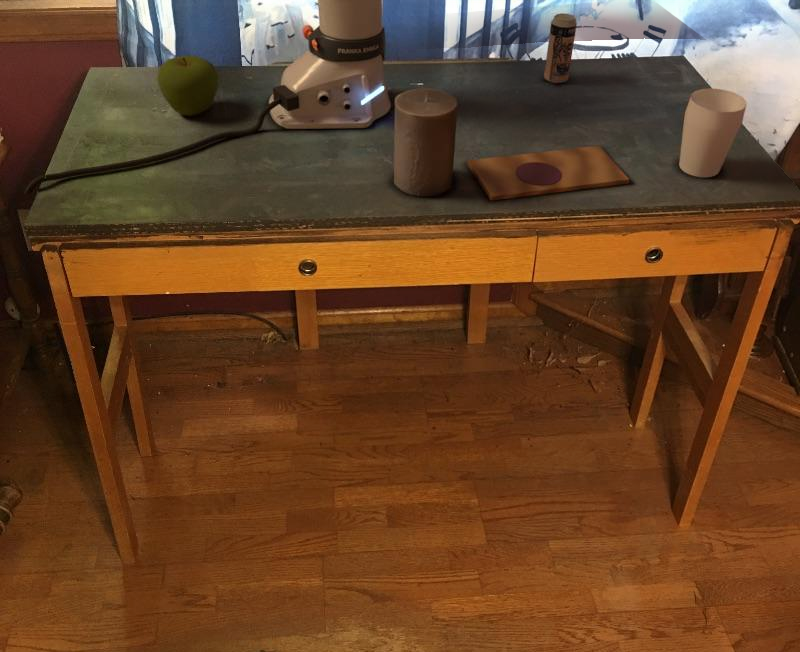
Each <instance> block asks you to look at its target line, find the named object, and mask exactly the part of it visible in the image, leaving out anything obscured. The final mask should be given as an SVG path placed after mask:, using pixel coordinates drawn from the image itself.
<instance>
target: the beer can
mask: <svg viewBox="0 0 800 652" xmlns="http://www.w3.org/2000/svg"><path fill="white" fill-rule="evenodd" d="M577 25H578V22H577V20H576V17H575V15H572V14H570V13H556V14H555V15H554V17H553V18H552V19H551V22H550V28H549V29H550V30H549V36H548V43H547V51H546V58H545V66H544V73H543V77H544V79H545V80H546V81H547V82H549V83H552V84H562V83H565V82H567V81H568V80H569V75H570V70H571V63H572V56H573V50H574V44H575V38H576V32H577Z"/></svg>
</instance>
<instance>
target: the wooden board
mask: <svg viewBox="0 0 800 652" xmlns="http://www.w3.org/2000/svg"><path fill="white" fill-rule="evenodd" d="M467 166H468V168H469V170H470V171H471V172H472V174H473V175H474V177H475V178H476V181H478V183H479V184H480V186H481V188H482V189H483V191H484V192H485V194H486V195H487V197H488V199H489V200H490V201H500V200H507V199H514V198H515V199H516V198H524V197H531V196H540V195H546V194H554V193H556V194H557V193H563V192H571V191H578V190H579V191H580V190H587V189H595V188H603V187H611V186H619V185H627V184H629V183H630V178H629V177H628V176H627V175H626V173H625V172H624V171H623V170H622V169H621V168H620V167H619V166H618V165H617V164H616V163H615V161H613V159H612V158H611V157H610V156H609V155H608V154H607V152H605V150H604V149H603V148H602V147H601V146H600V145H592V146H591V145H590V146H584V147H583V146H582V147H574V148H565V149H557V150H556V149H555V150H547V151H539V152H531V153H519V154H513V155H504V156H494V157H486V158H477V159H468V160H467Z"/></svg>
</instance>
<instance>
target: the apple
mask: <svg viewBox="0 0 800 652" xmlns="http://www.w3.org/2000/svg"><path fill="white" fill-rule="evenodd" d="M218 81H219V74H218V72H217V70H216V68H215V66H214V63H211V62H210V61H208V60H207V59H205V58H203V57H200V56H197V55H182V56H180V55H179V56H175V57H171V58H169V59H167V60H166V61H165V62H163V63H162V64H161V65H160V67H159V68H158V72H157V84H158V86H159V89H160V91H161V94H162V95H163V97H164V99H165V100H166V102H167V103H168V105H169V106H170V108H171V109H173V110H174V111H175V112H177V113H179V114H181V115H183V116H188V117H189V116H197V115H200V114H202V113H204V112H205V111H207V110H208V109H209V108H210V107H212V106H213V103H214V100H215V98H216V94H217V91H218V86H219V82H218Z"/></svg>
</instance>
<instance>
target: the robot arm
mask: <svg viewBox="0 0 800 652" xmlns="http://www.w3.org/2000/svg"><path fill="white" fill-rule="evenodd" d="M383 3H384V2H383V0H317V8H318V11H317V12H318V26H317V27H316V28H315V29H314V28H313V27H312V25H310V24H306V25H304V26H303V27H302V30H301V32H302V35H303V37H304V38H305V40H307V42H308V50H307V51H305V52H304V53H303V54H302V55H300V56H299V57H298V58H297V59H295V60H294V61H293V62H292V63H291V64H290V65H288V66H287V67H285V69H284V71H283V72H282V75H281V79H280V85H277V86H274V87H272V94H271V96H270V97H269V100H268V104H267V105H266V106H265V107H264V108H263V109H262V110H261V112H260V113H259V114H258V118H257V122H256V123H255V125H253V126H252V127H250V128H248V129H244V130H233V131H231V130H230V131H224V132H219V133H217V134H214V135H211V136H209V137H206V138H204V139H201V140H199V141H196V142H194V143H191V144H188V145H185V146H182V147H179V148H176V149H173V150H168V151H165V152H163V153H158V154H154V155H151V156H146V157H142V158H137V159H132V160H126V161H121V162H115V163H109V164H104V165H98V166H89V167H82V168H76V169H70V170H66V171H62V172H56V173H48V174H42V175H40V176H37V177H36V178H34V179H33V180H31V181H30V183H28V185H27V186H26V188H25V190H24V192H23V194H25V195H28V194H31V193H32V192H33V191H34V190H35V188H36V187H37V186H39V185H40V184H42V183H45V182H51V181H59V180H63V179H67V178H71V177H72V178H73V177H76V176H83V175H90V174H97V173H98V174H99V173H105V172H109V171H111V172H112V171H116V170H121V169H126V168H133V167H138V166H142V165H146V164H150V163H151V164H152V163H155V162H159V161H163V160H166V159H169V158H173V157H177V156H180V155H183V154H186V153H189V152H191V151H194V150H197V149H199V148H202V147H205V146H207V145H210V144H211V143H214V142H217V141H219V140H220V141H221V140H223V139H228V138H229V139H230V138H239V137H245V136H249V135H253V134H255V133H257V132H258V131H259V130H260V129H261V128H262V127H263V125H264V121H265V118H266V116H267V115H268V114H270V116H271V118H272V120H273V121H274V122H275V123H276V124H277V125H278V126H280V127H282V128H284V129H287V130H306V129H307V130H308V129H309V130H311V129H312V130H314V129H317V130H318V129H365V128H368V127H370V126H371V125H372V124H373V122H374V121H376V120H377V119H380V118H381V117H384V116H385V115H387V113H389V111H390V109H391V107H392V103H391V100H390V97H389V92H388V87H387V83H386V82H387V81H386V74H385V65H384V62H385V58H386V56H385V55H386V45H387V44H386V43H387V41H386V39H387V38H386V30H385V27H384V26H383V9H384V8H383ZM45 177H46V178H45ZM51 325H52V326H51V327H52V328H53V331H54V334H55V337H56V339H57V342H58V346H59V348H60V351H61V353H62V356H63V359H64V362H65V365H66V368H67V371H68V375H69V379H70V382H71V384H72V385H76V384H77V383H76V381H75V378H74V374H73V369H74V368H73V369H72V366H73V364H72V365H71V363H72V360H71V361H70V359H71V357H70V358H69V356H70V354H69V355H68V353H69V352H68V351H67V350H68V348H67V345H66V341H65V339H64V336H63V333H62V331H61V328H60V324H59V323H58V322H53V323H51Z"/></svg>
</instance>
